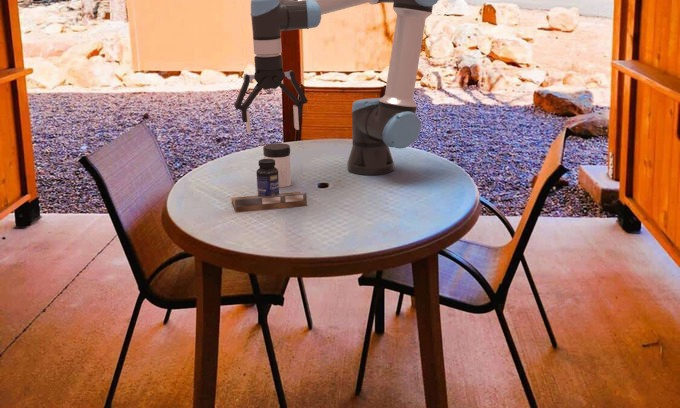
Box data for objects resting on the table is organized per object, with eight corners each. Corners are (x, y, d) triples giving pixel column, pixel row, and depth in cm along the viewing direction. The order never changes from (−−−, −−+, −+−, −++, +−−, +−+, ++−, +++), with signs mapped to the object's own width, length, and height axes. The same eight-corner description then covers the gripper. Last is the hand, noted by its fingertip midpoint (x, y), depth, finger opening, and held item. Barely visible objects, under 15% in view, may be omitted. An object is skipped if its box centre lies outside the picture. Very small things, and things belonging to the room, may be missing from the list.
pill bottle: (274, 202, 218) (272, 164, 215) (254, 200, 220) (252, 162, 217) (282, 195, 224) (281, 158, 221) (263, 194, 226) (261, 157, 222)
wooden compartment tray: (300, 196, 228) (300, 185, 227) (307, 205, 220) (306, 194, 219) (231, 202, 224) (231, 190, 223) (235, 212, 215) (235, 200, 214)
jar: (271, 189, 235) (270, 151, 231) (259, 183, 242) (257, 145, 238) (297, 184, 240) (296, 146, 236) (284, 178, 246) (282, 141, 243)
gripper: (309, 49, 219) (313, 124, 226) (220, 56, 213) (226, 132, 220) (315, 53, 212) (319, 129, 219) (223, 59, 206) (230, 138, 213)
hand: (273, 131), depth 219 cm, fingers open, 13 cm apart
